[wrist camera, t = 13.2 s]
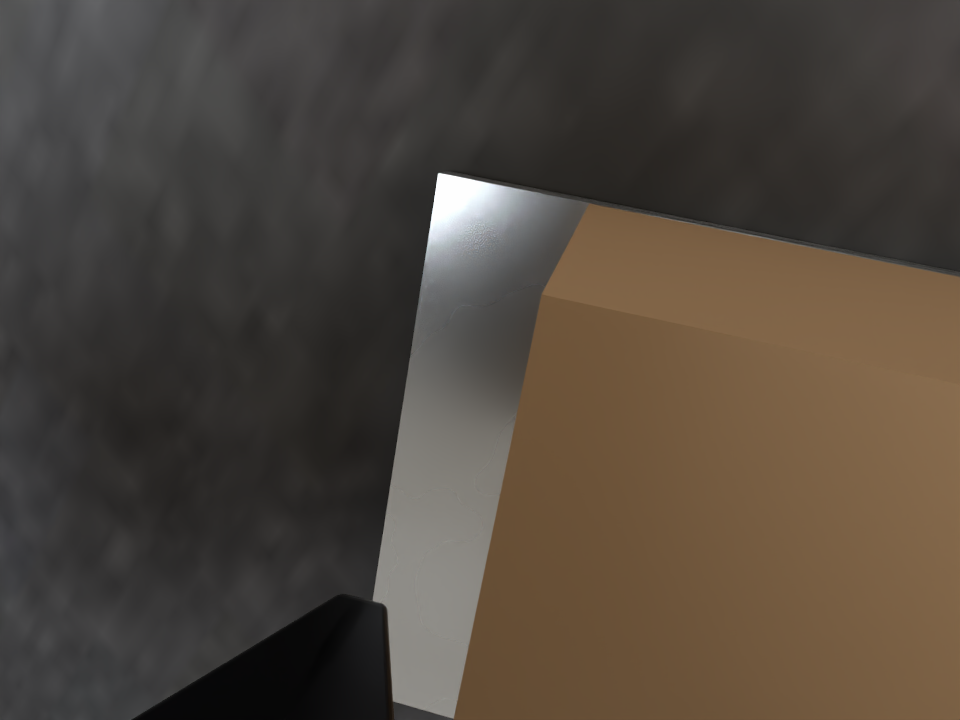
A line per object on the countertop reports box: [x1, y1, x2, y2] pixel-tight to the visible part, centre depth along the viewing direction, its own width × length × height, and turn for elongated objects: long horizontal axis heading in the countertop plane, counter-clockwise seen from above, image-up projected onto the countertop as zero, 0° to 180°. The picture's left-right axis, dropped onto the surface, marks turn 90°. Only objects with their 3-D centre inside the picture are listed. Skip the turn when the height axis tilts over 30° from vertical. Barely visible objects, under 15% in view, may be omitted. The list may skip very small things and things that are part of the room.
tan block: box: [453, 204, 960, 720], centre depth 8 cm, size 9×7×6 cm
